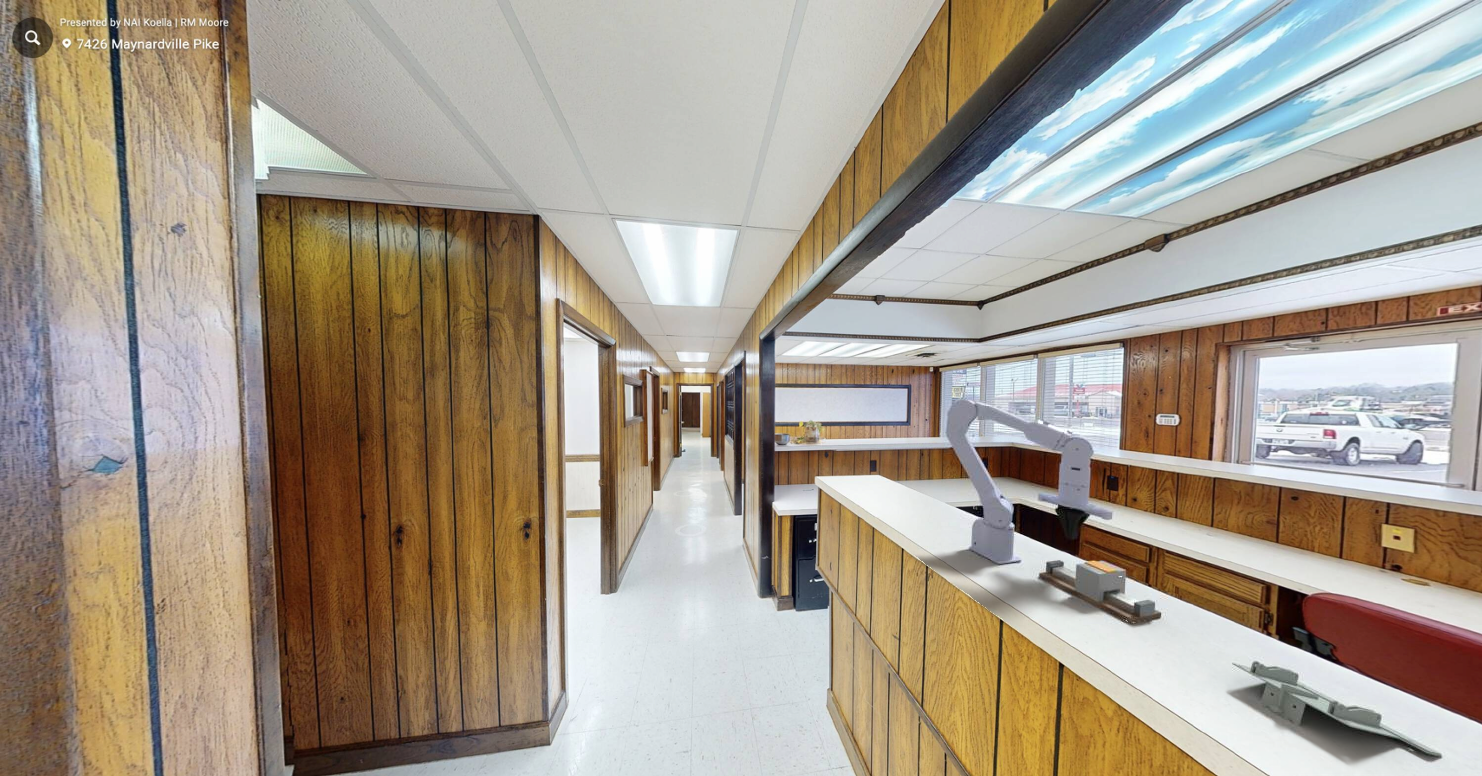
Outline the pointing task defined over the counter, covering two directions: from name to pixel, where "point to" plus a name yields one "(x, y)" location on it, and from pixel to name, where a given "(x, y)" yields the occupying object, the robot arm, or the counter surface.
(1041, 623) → the counter surface
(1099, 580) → the block
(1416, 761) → the counter surface
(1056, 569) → the din rail
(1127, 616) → the mounting plate
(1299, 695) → the metal bracket
